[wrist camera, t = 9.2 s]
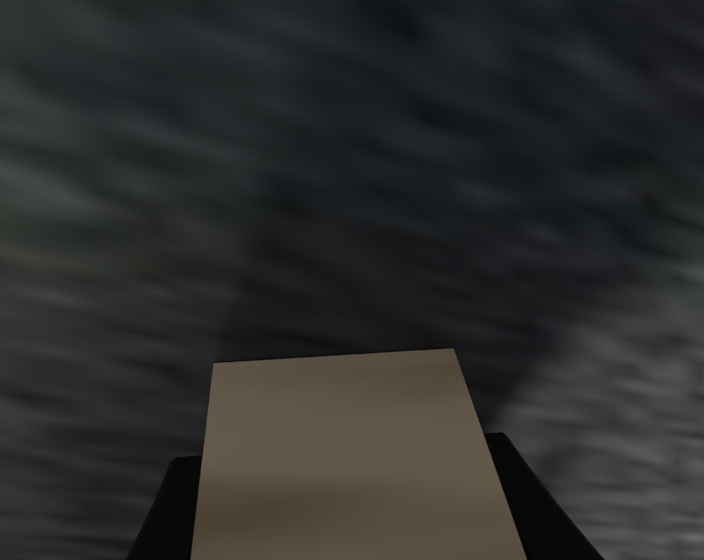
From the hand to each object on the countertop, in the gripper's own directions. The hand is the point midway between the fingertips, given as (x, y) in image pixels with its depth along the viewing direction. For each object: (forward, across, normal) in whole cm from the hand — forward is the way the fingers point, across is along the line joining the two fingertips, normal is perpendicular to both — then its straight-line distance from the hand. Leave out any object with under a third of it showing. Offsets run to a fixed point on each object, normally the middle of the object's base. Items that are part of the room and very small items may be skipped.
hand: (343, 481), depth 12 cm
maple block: (+2, 0, +1) cm, 2 cm away
